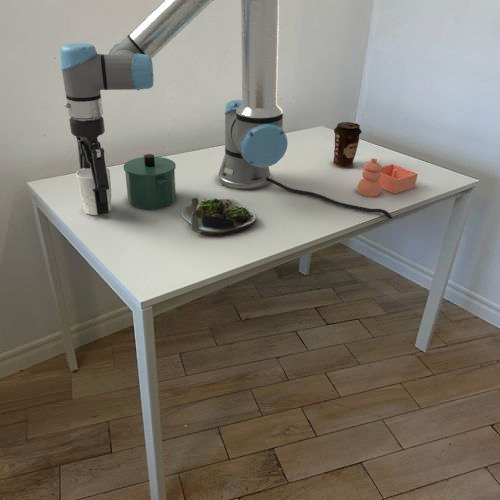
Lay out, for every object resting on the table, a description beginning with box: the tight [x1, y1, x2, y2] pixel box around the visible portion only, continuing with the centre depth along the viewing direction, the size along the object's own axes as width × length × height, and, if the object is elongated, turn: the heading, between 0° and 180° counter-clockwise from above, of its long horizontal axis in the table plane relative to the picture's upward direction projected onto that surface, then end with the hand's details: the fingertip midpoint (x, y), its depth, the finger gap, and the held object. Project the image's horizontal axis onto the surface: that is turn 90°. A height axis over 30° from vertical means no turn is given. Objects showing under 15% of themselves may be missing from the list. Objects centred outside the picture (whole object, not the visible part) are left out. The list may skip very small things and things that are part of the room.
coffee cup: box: [332, 121, 362, 169], centre depth 158 cm, size 9×8×13 cm
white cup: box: [75, 167, 113, 216], centre depth 124 cm, size 8×8×10 cm
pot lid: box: [123, 153, 177, 177], centre depth 129 cm, size 13×13×4 cm
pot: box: [124, 170, 177, 210], centre depth 132 cm, size 12×18×9 cm
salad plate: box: [181, 197, 257, 238], centre depth 124 cm, size 19×18×5 cm
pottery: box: [357, 158, 419, 198], centre depth 143 cm, size 18×10×10 cm, turn 126°
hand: (97, 206), depth 126 cm, fingers closed on white cup, 8 cm apart
